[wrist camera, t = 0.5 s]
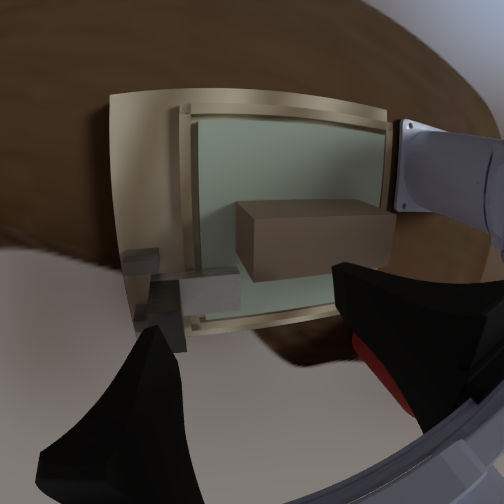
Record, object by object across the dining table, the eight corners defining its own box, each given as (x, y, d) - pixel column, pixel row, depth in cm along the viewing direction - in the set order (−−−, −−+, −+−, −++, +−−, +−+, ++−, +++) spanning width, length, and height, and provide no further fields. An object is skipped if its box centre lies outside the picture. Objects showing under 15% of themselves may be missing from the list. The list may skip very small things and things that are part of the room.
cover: (375, 134, 17) (427, 138, 13) (357, 290, 22) (395, 323, 17) (197, 121, 15) (206, 111, 10) (204, 311, 19) (215, 361, 14)
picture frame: (370, 111, 19) (405, 109, 15) (351, 298, 25) (375, 321, 21) (116, 100, 14) (101, 88, 11) (139, 324, 20) (135, 359, 17)
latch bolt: (236, 266, 17) (255, 303, 13) (237, 301, 18) (254, 343, 14) (151, 273, 16) (146, 313, 12) (156, 309, 17) (154, 354, 13)
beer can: (388, 344, 29) (453, 411, 18) (342, 356, 27) (406, 440, 17) (406, 293, 27) (487, 358, 16) (357, 301, 25) (444, 384, 14)
